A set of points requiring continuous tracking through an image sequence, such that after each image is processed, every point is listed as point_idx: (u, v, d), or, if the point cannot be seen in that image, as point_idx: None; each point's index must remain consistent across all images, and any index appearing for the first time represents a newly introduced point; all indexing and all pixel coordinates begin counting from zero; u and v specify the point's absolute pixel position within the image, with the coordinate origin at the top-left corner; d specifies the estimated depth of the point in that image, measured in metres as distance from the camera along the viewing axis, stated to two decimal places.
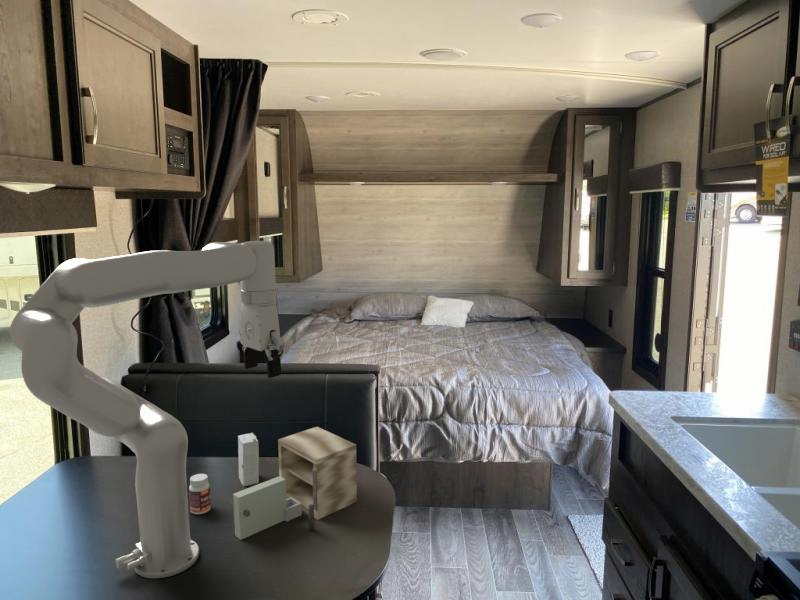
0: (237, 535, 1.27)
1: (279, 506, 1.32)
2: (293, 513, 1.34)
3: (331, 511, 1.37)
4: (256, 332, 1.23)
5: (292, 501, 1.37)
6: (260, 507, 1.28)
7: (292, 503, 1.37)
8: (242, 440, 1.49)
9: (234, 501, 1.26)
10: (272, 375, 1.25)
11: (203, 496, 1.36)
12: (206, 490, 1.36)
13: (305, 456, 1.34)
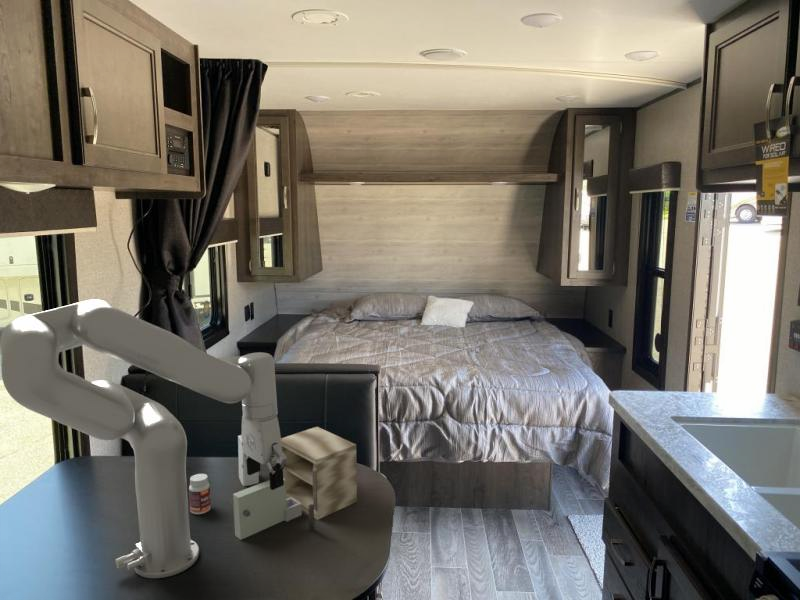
0: (237, 535, 1.27)
1: (279, 506, 1.32)
2: (293, 513, 1.34)
3: (331, 511, 1.37)
4: (258, 446, 1.24)
5: (292, 501, 1.37)
6: (260, 507, 1.28)
7: (292, 503, 1.37)
8: None
9: (234, 501, 1.26)
10: (275, 487, 1.26)
11: (203, 496, 1.36)
12: (206, 490, 1.36)
13: (305, 456, 1.34)
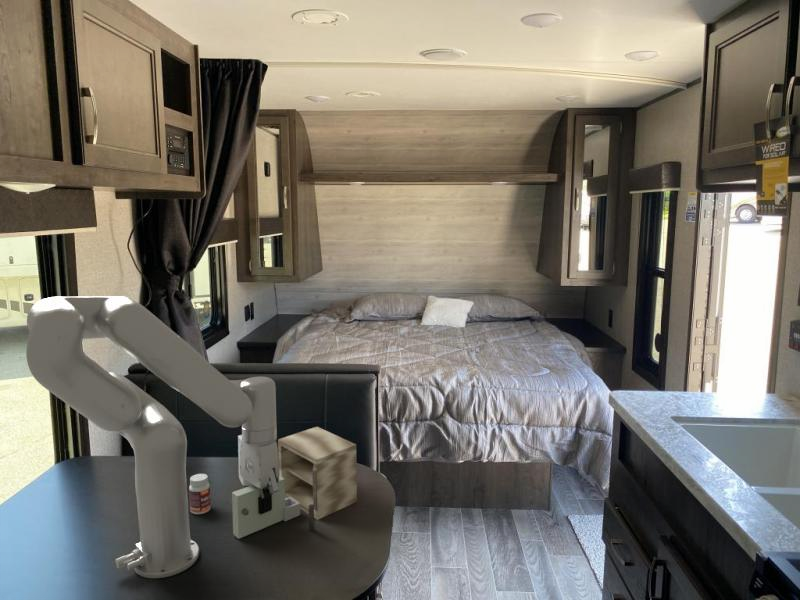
0: (235, 534, 1.26)
1: (278, 505, 1.32)
2: (292, 513, 1.34)
3: (331, 511, 1.37)
4: (256, 470, 1.24)
5: (291, 501, 1.37)
6: None
7: (291, 503, 1.37)
8: None
9: (233, 500, 1.26)
10: (263, 511, 1.28)
11: (203, 496, 1.36)
12: (206, 490, 1.36)
13: (305, 456, 1.34)
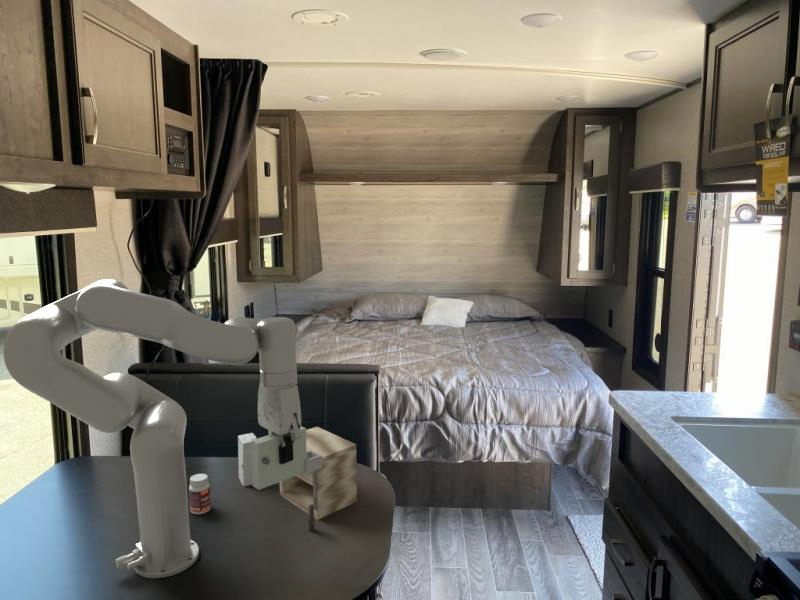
0: (255, 485, 1.18)
1: (299, 457, 1.24)
2: (313, 465, 1.26)
3: (331, 511, 1.37)
4: (276, 416, 1.16)
5: (312, 454, 1.29)
6: None
7: (312, 456, 1.29)
8: (242, 440, 1.49)
9: (252, 448, 1.17)
10: (284, 461, 1.20)
11: (203, 496, 1.36)
12: (206, 490, 1.36)
13: None
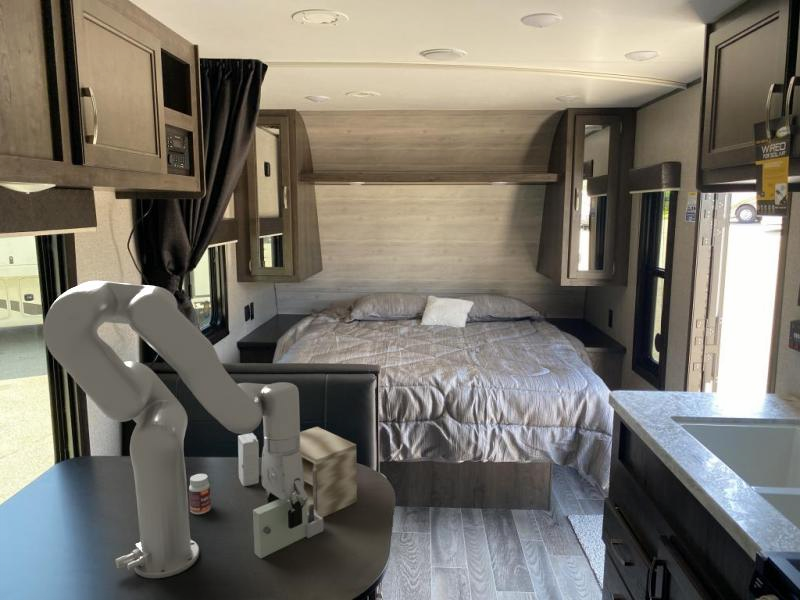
0: (257, 553, 1.20)
1: None
2: (315, 529, 1.28)
3: (331, 511, 1.37)
4: (280, 481, 1.18)
5: None
6: (280, 524, 1.22)
7: None
8: (242, 440, 1.49)
9: (254, 517, 1.19)
10: (293, 525, 1.20)
11: (203, 496, 1.36)
12: (206, 490, 1.36)
13: (305, 456, 1.34)
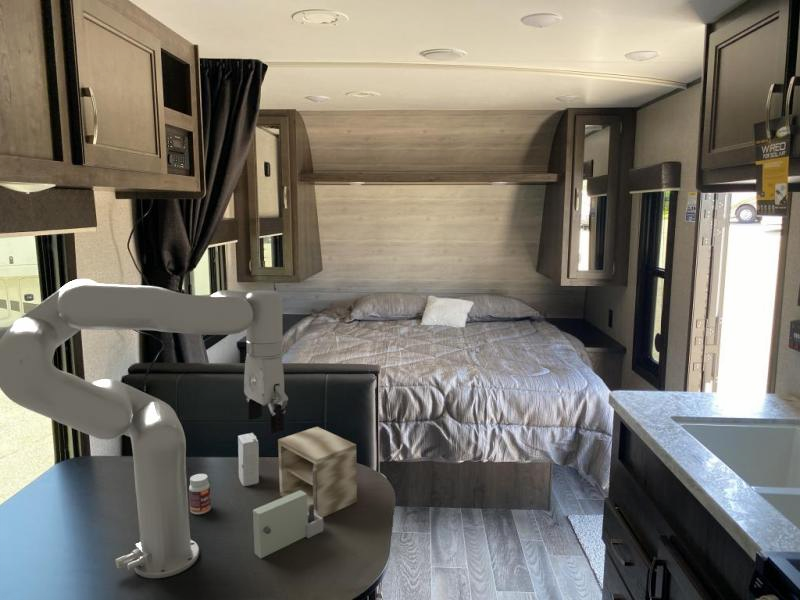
0: (257, 553, 1.20)
1: (300, 522, 1.26)
2: (315, 529, 1.28)
3: (331, 511, 1.37)
4: (260, 385, 1.19)
5: None
6: (280, 524, 1.22)
7: None
8: (242, 440, 1.49)
9: (254, 517, 1.19)
10: (274, 430, 1.21)
11: (203, 496, 1.36)
12: (206, 490, 1.36)
13: (305, 456, 1.34)
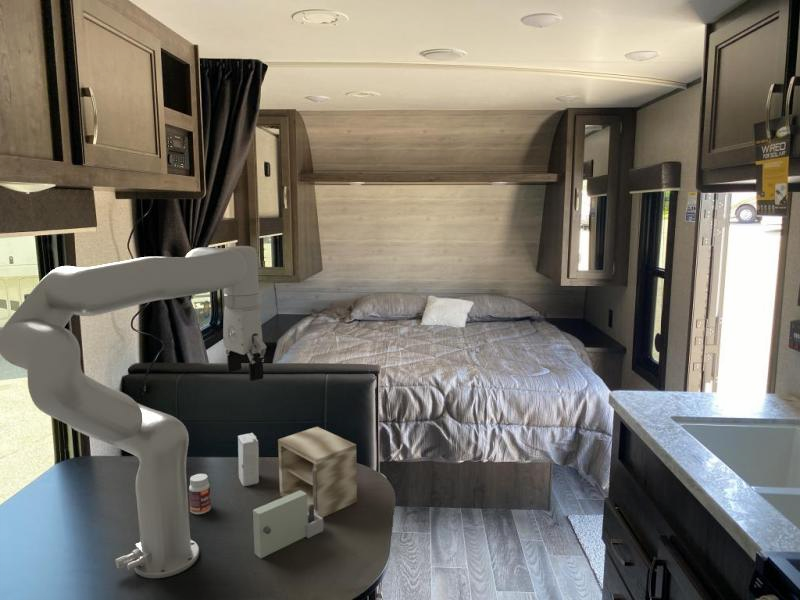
0: (257, 553, 1.20)
1: (300, 522, 1.26)
2: (315, 529, 1.28)
3: (331, 511, 1.37)
4: (238, 336, 1.25)
5: None
6: (280, 524, 1.22)
7: None
8: (242, 440, 1.49)
9: (254, 517, 1.19)
10: (254, 378, 1.27)
11: (203, 496, 1.36)
12: (206, 490, 1.36)
13: (305, 456, 1.34)
